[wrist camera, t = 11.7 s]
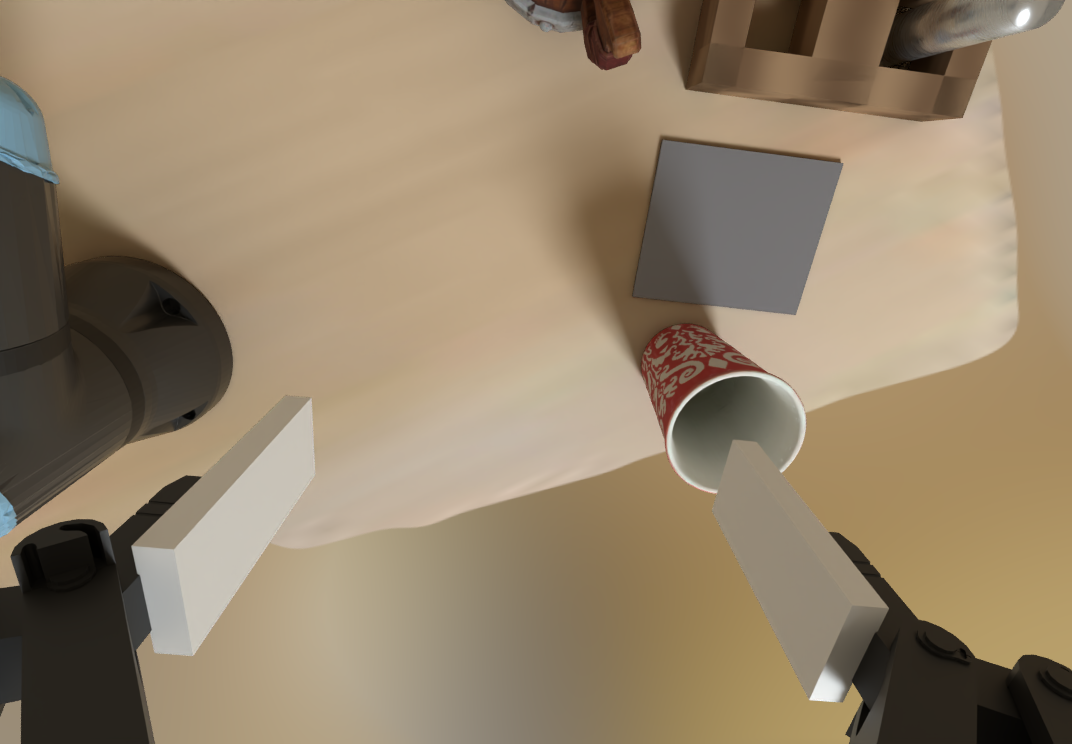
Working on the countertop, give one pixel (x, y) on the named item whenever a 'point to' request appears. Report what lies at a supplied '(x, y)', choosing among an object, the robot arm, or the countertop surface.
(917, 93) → the hole block
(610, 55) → the mug
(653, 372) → the mug
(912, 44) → the peg
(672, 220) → the mat
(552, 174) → the countertop surface
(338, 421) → the countertop surface
